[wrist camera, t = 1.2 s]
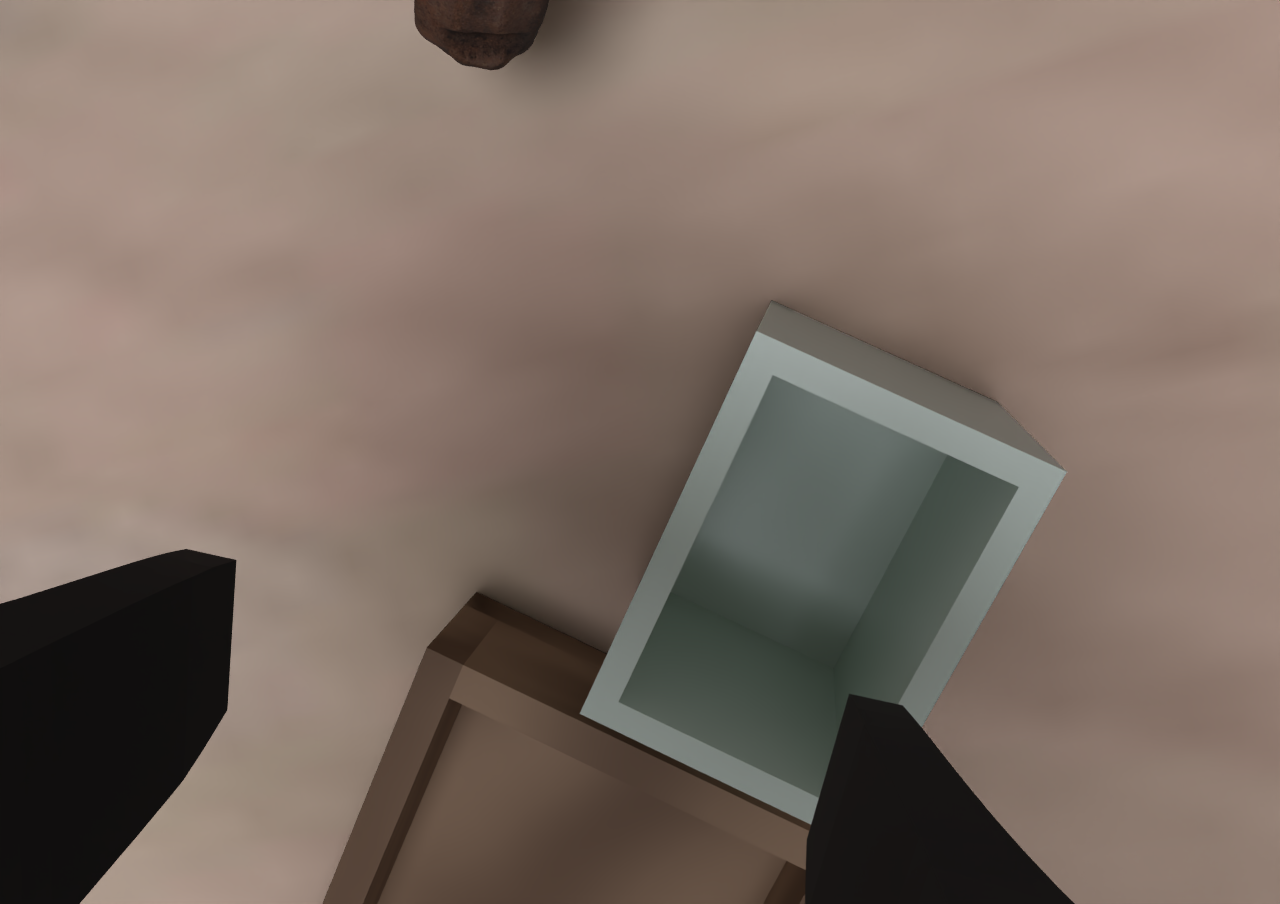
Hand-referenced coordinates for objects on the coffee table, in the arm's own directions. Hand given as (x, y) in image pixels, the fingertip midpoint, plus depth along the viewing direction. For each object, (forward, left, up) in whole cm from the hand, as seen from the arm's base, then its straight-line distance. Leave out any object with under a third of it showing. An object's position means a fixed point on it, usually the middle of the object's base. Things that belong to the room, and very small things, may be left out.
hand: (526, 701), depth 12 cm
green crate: (-3, -1, -11) cm, 11 cm away
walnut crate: (-2, +10, -11) cm, 15 cm away
